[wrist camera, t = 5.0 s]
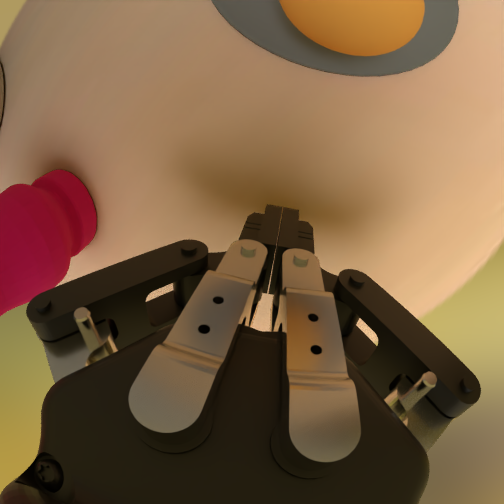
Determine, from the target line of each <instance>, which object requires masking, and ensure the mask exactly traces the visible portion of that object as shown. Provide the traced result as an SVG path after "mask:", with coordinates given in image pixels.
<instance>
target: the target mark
mask: <svg viewBox="0 0 504 504" xmlns="http://www.w3.org/2000/svg"><path fill="white" fill-rule="evenodd" d="M212 2H213V4H214V5H215V6H216V8H217V9H218V11H219V12H220V14H221V15H222V16H223V17H224V18H225V19H226V20H227V21H228V22H229V23H230V24H231V25H232V26H233V27H234V28H235V29H237V30H238V31H239V32H240V33H241V34H242V35H244V36H245V37H247V38H248V39H250V40H251V41H253V42H254V43H255V44H257V45H259V46H260V47H262V48H264V49H266V50H268V51H270V52H271V53H273V54H275V55H278V56H280V57H282V58H285V59H287V60H289V61H292V62H295V63H298V64H300V65H303V66H306V67H309V68H314V69H317V70H321V71H325V72H331V73H337V74H342V75H353V76H383V75H391V74H398V73H402V72H406V71H410V70H413V69H415V68H418V67H420V66H423V65H425V64H426V63H428V62H429V61H431V60H433V59H434V58H436V57H437V56H438V55H439V54H440V53H441V52H442V51H443V50H444V49H445V48H446V47H447V45H448V44H449V43H450V41H451V39H452V37H453V35H454V33H455V30H456V27H457V23H458V13H459V7H458V0H424V4H425V12H424V17H423V22H422V24H421V27H420V29H419V30H418V32H417V33H416V35H415V36H414V37H413V38H412V39H411V40H410V41H409V42H408V43H407V44H405V45H404V46H402V47H401V48H399V49H397V50H395V51H392V52H389V53H386V54H381V55H376V56H355V55H349V54H344V53H340V52H337V51H334V50H331V49H328V48H326V47H324V46H322V45H320V44H318V43H316V42H314V41H313V40H311V39H310V38H308V37H307V36H305V35H304V34H303V33H302V32H300V31H299V30H298V29H297V28H296V27H295V26H294V25H293V23H292V22H291V21H290V20H289V18H288V17H287V15H286V14H285V12H284V10H283V9H282V6H281V4H280V2H279V0H212Z"/></svg>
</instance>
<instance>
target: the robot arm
mask: <svg viewBox="0 0 504 504" xmlns="http://www.w3.org/2000/svg"><path fill="white" fill-rule="evenodd" d="M3 98H4V81H3V72H2V68H1V65H0V122H1V117H2V109H3ZM281 212H282V207H279V206H273V205H268V204H267V207H266V210H265V214H261V213H255V212H254V213H253V214H251V215H249V216H248V218H247V220H246V223H245V225H244V228H243V230H242V233H241V235H240V238H239V240H238V241H235V242H233V243H232V244H231V245H230V247H229V249H228V250H227V251H226V252H218V253H208V247H207V246H206V245H205V244H204V243H202V242H200V241H197V240H182V241H178V242H176V243H173V244H170V245H167V246H164V247H161V248H158V249H155V250H153V251H150V252H147V253H144V254H141V255H139V256H136V257H133V258H130V259H128V260H125V261H122V262H119V263H117V264H114V265H111V266H109V267H106V268H103V269H101V270H98V271H95V272H93V273H90V274H88V275H85V276H82V277H80V278H77V279H75V280H72V281H70V282H67V283H64V284H62V285H59V286H57V287H54V288H52V289H49V290H47V291H45V292H42V293H40V294H38V295H36V296H35V297H34V298H33V299H32V300H31V301H30V302H29V304H28V306H27V310H26V313H27V317H28V318H29V321H30V322H31V324H32V326H33V327H34V329H35V331H36V334H37V336H38V338H39V340H40V341H41V343H42V344H43V346H44V348H45V352H46V356H47V359H48V363H49V366H50V370H51V372H52V376H53V379H54V382H55V384H54V385H53V386H52V387H51V388H50V390H49V391H48V393H47V394H46V397H45V399H44V402H43V405H42V410H41V439H40V445H39V450H38V454H37V457H36V459H35V460H34V462H33V463H32V464H31V465H30V467H29V468H28V469H27V470H26V471H25V472H24V473H22V474H21V475H20V476H19V477H18V478H16V479H15V480H14V481H12V482H11V483H10V484H9V485H7V486H6V487H5V488H4V490H3V491H2V493H1V495H0V504H418V503H419V501H420V498H421V496H422V494H423V492H424V490H425V487H426V485H427V481H428V478H429V460H428V456H427V454H426V453H427V452H428V451H429V449H430V448H431V447H432V446H433V444H434V443H435V442H436V441H437V439H438V438H439V437H440V436H441V434H442V433H443V432H444V430H445V429H446V428H447V426H448V425H449V424H450V422H452V421H453V420H454V419H456V418H457V417H458V416H460V415H461V414H462V413H463V412H465V411H466V410H467V409H468V408H470V407H471V406H472V405H473V404H474V403H476V402H477V401H478V399H479V397H480V393H481V388H480V384H479V381H478V379H477V378H476V376H475V375H474V374H473V373H472V372H471V371H470V370H469V369H468V368H467V367H466V366H465V365H464V364H463V363H462V362H461V361H460V360H459V359H458V358H457V357H456V356H455V355H454V354H453V353H452V352H451V351H450V350H449V349H448V348H447V347H446V346H445V345H444V344H443V343H442V342H441V341H440V340H439V339H438V338H437V337H436V336H435V335H434V334H433V333H431V332H430V331H429V330H428V329H427V328H426V327H425V326H424V325H423V324H422V323H421V322H420V321H419V320H418V319H416V318H415V317H414V316H413V315H412V314H411V313H410V312H409V311H408V310H406V309H405V308H404V307H403V306H402V305H401V304H400V303H399V302H398V301H396V300H395V299H394V298H393V297H392V296H391V295H390V294H388V293H387V292H386V291H385V290H384V289H383V288H381V287H380V286H379V285H378V284H377V283H376V282H374V281H373V280H372V279H371V278H370V277H369V276H367V275H366V274H364V273H363V272H360V271H358V270H353V269H346V270H343V271H341V272H340V273H339V276H336V275H334V274H331V273H329V272H327V271H325V270H323V269H322V268H321V267H320V263H319V260H318V258H317V257H316V256H315V255H314V240H313V228H312V226H311V225H310V224H309V223H308V222H305V221H300V220H299V210H296V209H290V208H285V207H284V208H283V213H282V219H281ZM280 219H281V224H280ZM279 225H280V230H279ZM278 231H279V235H278ZM277 237H278V241H277ZM276 244H277V246H276ZM275 249H276V252H275ZM274 254H275V258H274ZM273 260H274V264H273ZM272 265H273V270H272ZM271 270H272V276H271V282H270V288H269V294H273V295H274V296H273V301H272V306H271V314H270V332H262V331H258V330H256V329H253V328H251V326H252V323H253V320H254V317H255V314H256V311H257V308H258V303H259V301H260V299H261V296H262V293H267V291H268V285H269V280H270V275H271ZM171 283H173V289H174V290H173V291H170V292H168V293H166V294H164V295H161V296H159V297H157V298H154V299H152V300H150V301H147V302H146V298H147V296H148V295H149V294H150V293H151V292H152V291H154V290H157V289H159V288H161V287H164V286H166V285H168V284H171ZM359 318H361V319H362V320H363V321H364V322H365V323H366V324H367V325H368V326H369V327H370V328H371V329H372V330H373V331H374V332H375V333H376V335H377V337H378V346H376V345H375V344H374V343H373V342H372V341H371V340H370V339H369V338H368V337H367V336H366V335H365V334H364V333H363V332H362V331H361V330H360V329H359V328H358V327H357V326H356V324H357V322H358V320H359Z"/></svg>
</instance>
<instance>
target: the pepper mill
mask: <svg viewBox="0 0 504 504" xmlns="http://www.w3.org/2000/svg"><path fill="white" fill-rule="evenodd" d="M96 224H97V218H96V211H95V207H94V204H93V200H92V199H91V197H90V195H89V193H88V191H87V189H86V187H85V186H84V185H83V184H82V182H81V181H80V180H79V179H78V178H77V177H76V176H74V175H73V174H72V173H70V172H67V171H64V170H54V171H51V172H49V173H47V174H45V175H43V176H42V177H40V178H38V179H36V180H35V181H34V182H33V183H32V185H27V184H15V185H12V186H10V187H9V188H7V189H6V190H5V191H3V192H2V193H1V194H0V316H1V315H3V314H4V313H6V312H7V311H9V310H11V309H13V308H15V307H17V306H20V305H23V304H25V303H27V302H30V301H31V300H32V299H33V298H34V297H35V296H36V295H38V294H40V293H42V292H45V291H47V290H49V289H52V288H54V287H55V286H56V285H57V284H58V283H60V282H61V281H62V280H63V278H64V277H65V276H66V274H67V271H68V269H69V265H70V259H71V257H73V256H75V255H77V254H78V253H79V252H80V251H81V250H83V249H84V248H85V247H86V246H87V245H88V244H89V243H90V242H91V241H92V239H93V238H94V235H95V233H96Z"/></svg>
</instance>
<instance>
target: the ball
mask: <svg viewBox="0 0 504 504" xmlns="http://www.w3.org/2000/svg"><path fill="white" fill-rule="evenodd" d="M279 2H280V4H281V6H282V9H283V10H284V12H285V14H286V15H287V17H288V18H289V20H290V21H291V22H292V23H293V25H294V26H295V27H296V28H297V29H298V30H299V31H300V32H302V33H303V34H304V35H305V36H307V37H308V38H310V39H311V40H313V41H314V42H316V43H318V44H320V45H322V46H324V47H326V48H328V49H331V50H334V51H337V52H340V53H344V54H349V55H355V56H376V55H381V54H386V53H389V52H392V51H395V50H397V49H399V48H401V47H402V46H404V45H405V44H407V43H408V42H409V41H410V40H411V39H412V38H413V37H414V36H415V35H416V33H417V32H418V30H419V29H420V27H421V24H422V22H423V17H424V12H425V4H424V0H279Z"/></svg>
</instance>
